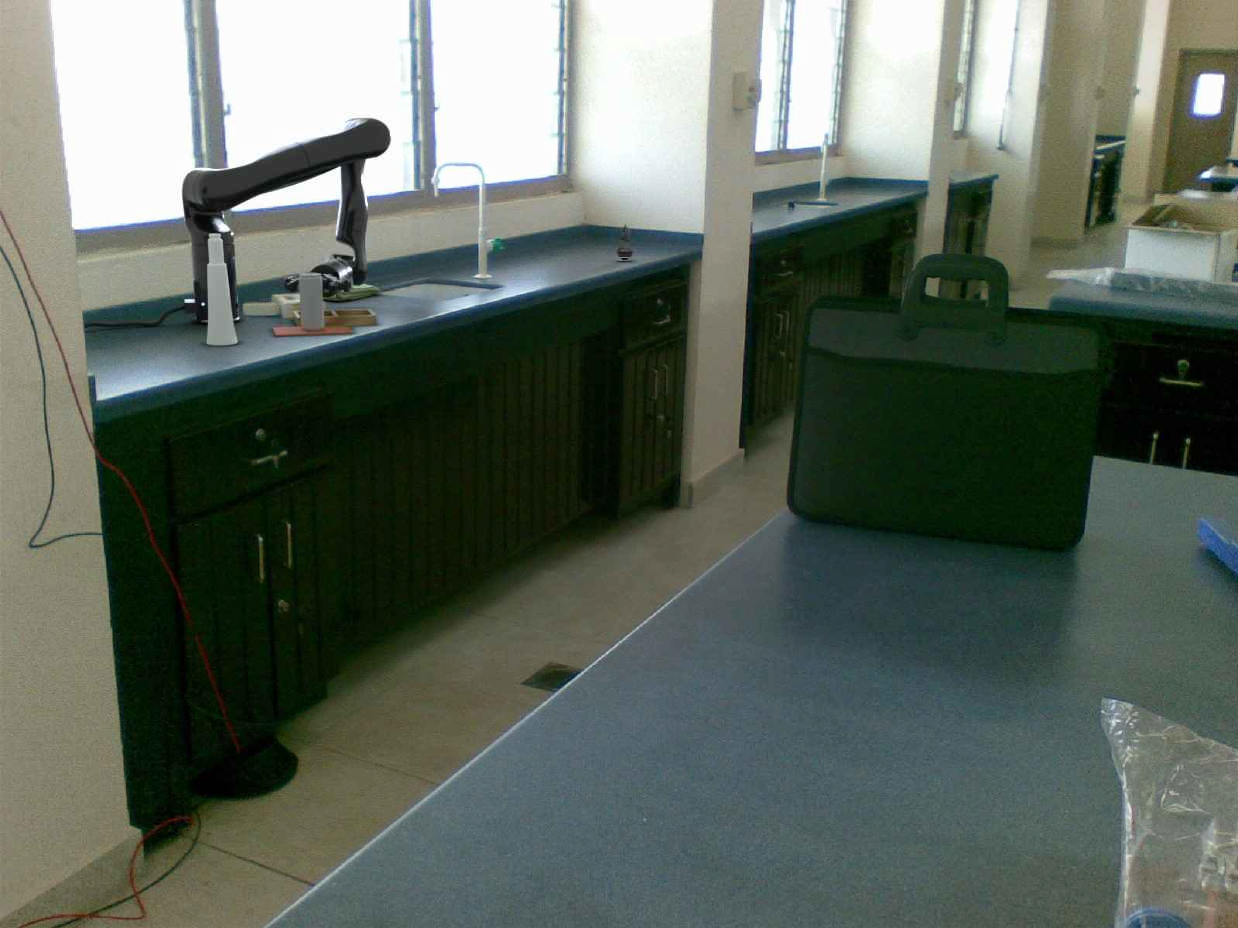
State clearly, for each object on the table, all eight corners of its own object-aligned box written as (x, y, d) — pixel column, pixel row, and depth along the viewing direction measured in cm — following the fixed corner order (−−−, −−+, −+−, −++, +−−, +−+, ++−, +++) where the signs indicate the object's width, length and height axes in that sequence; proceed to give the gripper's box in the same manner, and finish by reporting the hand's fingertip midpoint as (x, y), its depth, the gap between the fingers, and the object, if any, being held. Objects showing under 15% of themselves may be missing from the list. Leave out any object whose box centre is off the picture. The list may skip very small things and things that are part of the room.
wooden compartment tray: (297, 327, 264) (297, 317, 263) (294, 320, 272) (293, 310, 272) (376, 325, 270) (376, 315, 269) (370, 318, 278) (370, 308, 277)
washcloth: (382, 294, 313) (381, 282, 312) (338, 303, 298) (338, 290, 297) (342, 290, 318) (341, 278, 318) (297, 298, 303) (296, 285, 302)
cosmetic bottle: (243, 343, 245) (236, 234, 239) (216, 347, 241) (208, 236, 234) (227, 339, 249) (220, 231, 243) (200, 342, 245) (192, 233, 238)
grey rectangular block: (318, 332, 257) (315, 276, 254) (297, 330, 258) (294, 274, 255) (328, 328, 262) (325, 273, 258) (307, 327, 263) (304, 272, 259)
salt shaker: (636, 261, 398) (637, 224, 394) (627, 262, 393) (628, 225, 390) (621, 259, 401) (622, 223, 397) (612, 261, 396) (613, 224, 393)
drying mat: (275, 336, 253) (275, 334, 253) (272, 329, 261) (272, 327, 261) (352, 333, 259) (352, 332, 258) (347, 326, 267) (347, 324, 267)
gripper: (297, 260, 272) (276, 269, 257) (359, 262, 272) (343, 271, 257) (298, 293, 274) (278, 304, 259) (360, 295, 274) (344, 306, 259)
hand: (310, 288), depth 258 cm, fingers open, 8 cm apart
